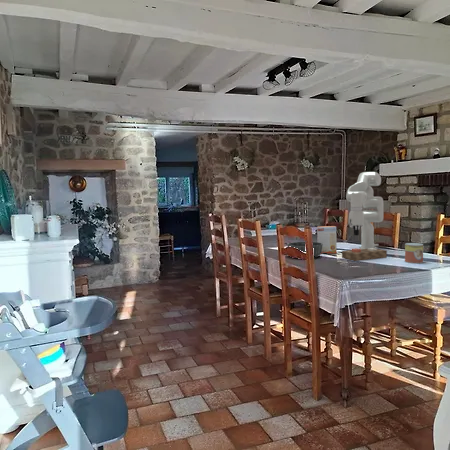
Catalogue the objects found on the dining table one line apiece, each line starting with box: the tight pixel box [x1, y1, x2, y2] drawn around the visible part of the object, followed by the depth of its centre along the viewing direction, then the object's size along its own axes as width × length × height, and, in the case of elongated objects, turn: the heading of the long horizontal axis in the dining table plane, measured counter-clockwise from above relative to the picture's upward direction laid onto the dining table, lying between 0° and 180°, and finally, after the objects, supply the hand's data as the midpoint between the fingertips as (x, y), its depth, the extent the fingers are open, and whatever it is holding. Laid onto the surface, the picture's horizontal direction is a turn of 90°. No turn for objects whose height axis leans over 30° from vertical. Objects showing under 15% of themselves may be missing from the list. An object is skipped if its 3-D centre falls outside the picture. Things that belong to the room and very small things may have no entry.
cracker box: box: [316, 225, 338, 255], centre depth 322 cm, size 14×6×21 cm, turn 84°
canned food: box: [404, 242, 424, 264], centre depth 279 cm, size 11×11×12 cm
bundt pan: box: [286, 241, 323, 258], centre depth 310 cm, size 26×26×10 cm
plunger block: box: [341, 248, 388, 262], centre depth 299 cm, size 28×14×5 cm, turn 111°
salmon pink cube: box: [351, 247, 361, 252], centre depth 296 cm, size 4×4×4 cm
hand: (356, 235), depth 295 cm, fingers closed
